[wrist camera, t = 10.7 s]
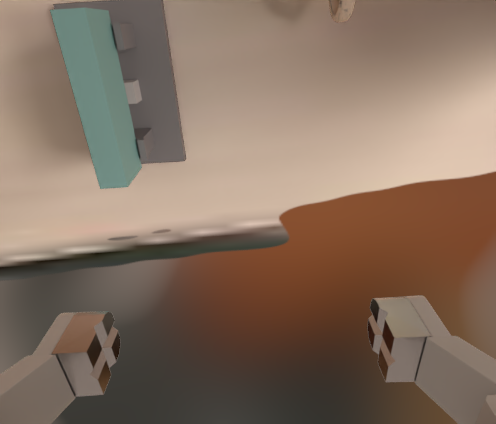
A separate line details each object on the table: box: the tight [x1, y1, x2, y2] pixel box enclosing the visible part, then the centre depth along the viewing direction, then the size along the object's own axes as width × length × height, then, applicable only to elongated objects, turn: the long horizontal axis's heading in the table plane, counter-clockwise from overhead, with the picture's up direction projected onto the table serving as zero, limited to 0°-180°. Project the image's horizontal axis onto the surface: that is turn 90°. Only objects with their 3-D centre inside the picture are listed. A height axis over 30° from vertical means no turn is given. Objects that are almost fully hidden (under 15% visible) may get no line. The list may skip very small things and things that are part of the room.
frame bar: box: [50, 8, 142, 189], centre depth 30 cm, size 2×14×5 cm, turn 3°
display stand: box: [53, 0, 186, 164], centre depth 35 cm, size 10×16×6 cm, turn 3°
